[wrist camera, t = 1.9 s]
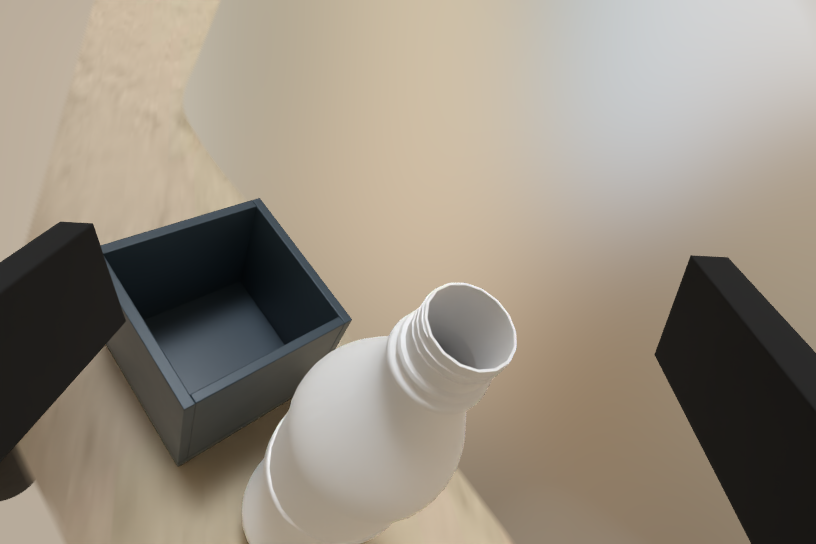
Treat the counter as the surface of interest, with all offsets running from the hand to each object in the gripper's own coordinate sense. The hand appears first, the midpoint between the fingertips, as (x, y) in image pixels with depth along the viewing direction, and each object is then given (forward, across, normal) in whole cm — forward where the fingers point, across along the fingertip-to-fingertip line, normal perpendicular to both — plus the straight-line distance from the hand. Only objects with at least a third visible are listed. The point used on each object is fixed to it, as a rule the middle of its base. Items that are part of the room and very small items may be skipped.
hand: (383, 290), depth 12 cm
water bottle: (+10, -7, -24) cm, 27 cm away
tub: (+17, -14, -19) cm, 29 cm away
